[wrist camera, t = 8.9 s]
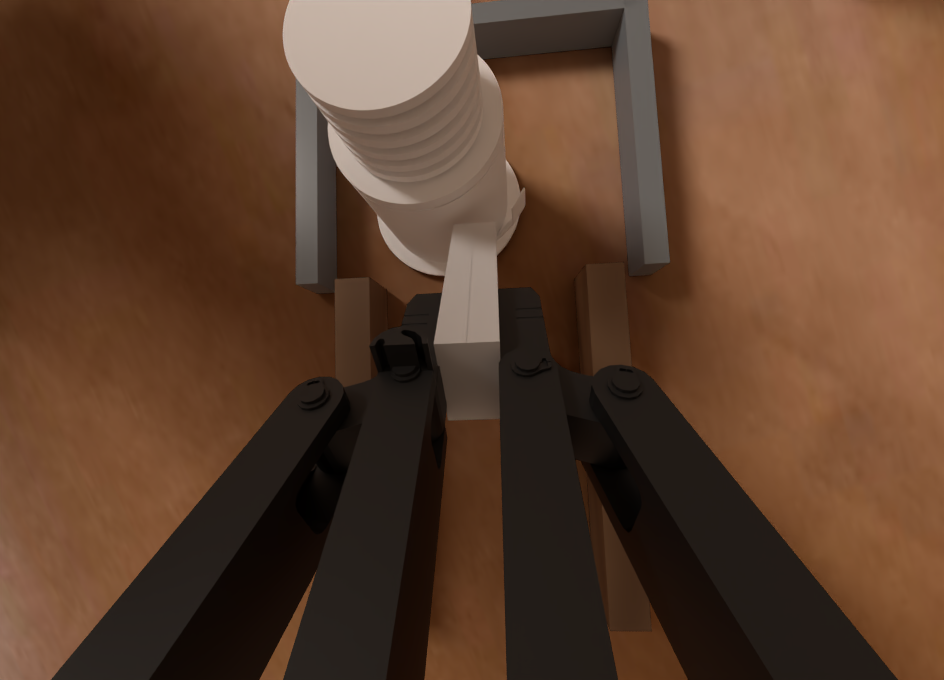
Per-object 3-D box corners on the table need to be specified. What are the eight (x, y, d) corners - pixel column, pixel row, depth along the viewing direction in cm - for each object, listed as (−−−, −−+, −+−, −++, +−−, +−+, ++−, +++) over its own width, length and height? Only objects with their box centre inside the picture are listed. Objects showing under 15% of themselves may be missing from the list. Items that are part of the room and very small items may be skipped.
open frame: (317, 293, 19) (295, 284, 17) (316, 57, 20) (295, 23, 18) (651, 274, 18) (669, 262, 16) (630, 25, 19) (646, -16, 17)
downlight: (556, 184, 18) (602, -44, 8) (481, 309, 18) (438, 223, 8) (419, 115, 20) (319, -155, 10) (347, 231, 19) (170, 75, 10)
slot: (360, 591, 18) (337, 627, 15) (356, 291, 19) (334, 279, 16) (629, 592, 17) (651, 631, 14) (607, 277, 18) (623, 261, 15)
